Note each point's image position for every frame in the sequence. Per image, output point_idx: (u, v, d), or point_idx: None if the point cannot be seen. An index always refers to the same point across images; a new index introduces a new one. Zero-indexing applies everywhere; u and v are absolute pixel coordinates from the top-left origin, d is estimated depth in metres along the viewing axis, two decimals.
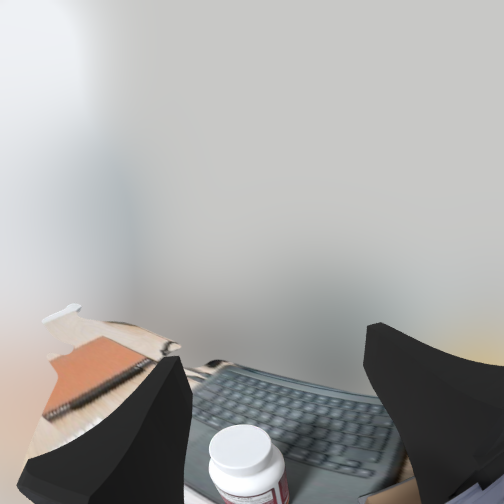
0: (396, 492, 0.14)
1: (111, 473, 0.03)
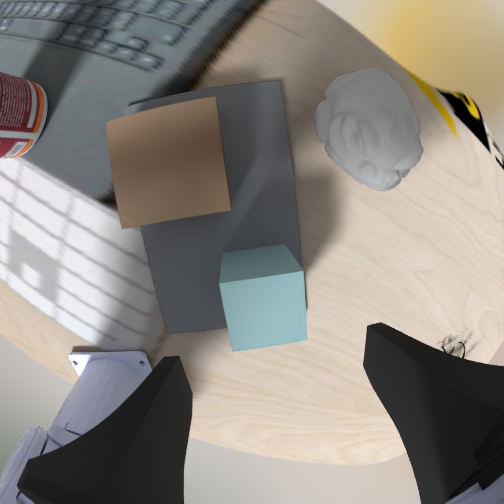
0: (150, 120, 0.12)
1: (111, 473, 0.03)
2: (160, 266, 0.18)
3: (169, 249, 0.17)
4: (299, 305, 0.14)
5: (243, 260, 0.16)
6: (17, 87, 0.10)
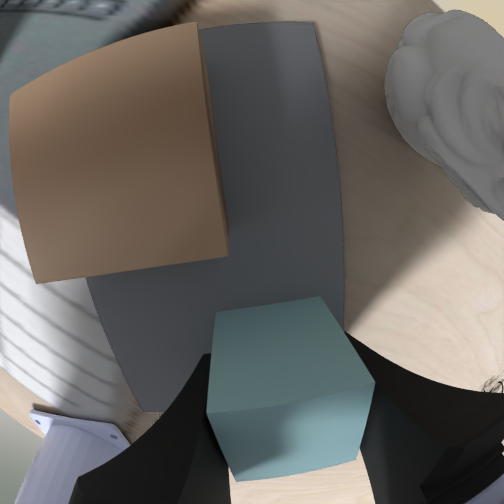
0: (72, 78, 0.05)
1: (186, 481, 0.03)
2: (119, 328, 0.10)
3: (128, 305, 0.10)
4: (355, 427, 0.06)
5: (253, 341, 0.08)
6: None
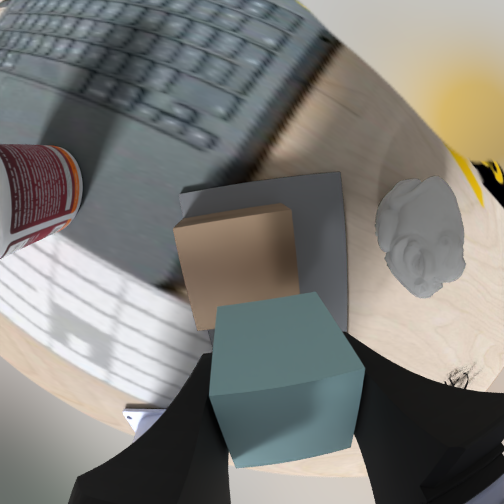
0: (224, 232, 0.14)
1: (185, 481, 0.03)
2: None
3: None
4: (348, 413, 0.07)
5: (252, 332, 0.09)
6: (48, 167, 0.12)
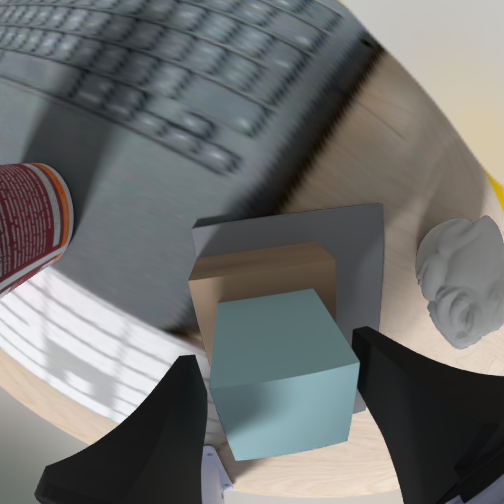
0: (253, 286, 0.11)
1: (138, 477, 0.03)
2: None
3: None
4: (344, 407, 0.07)
5: (251, 327, 0.09)
6: (27, 197, 0.09)
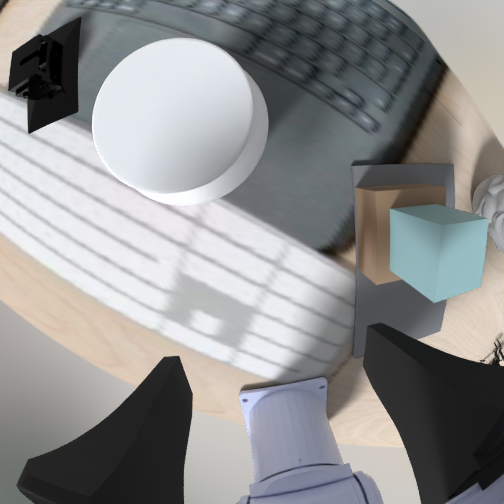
0: (409, 198, 0.15)
1: (111, 473, 0.03)
2: (366, 306, 0.21)
3: (375, 293, 0.20)
4: (482, 251, 0.11)
5: (427, 212, 0.13)
6: None
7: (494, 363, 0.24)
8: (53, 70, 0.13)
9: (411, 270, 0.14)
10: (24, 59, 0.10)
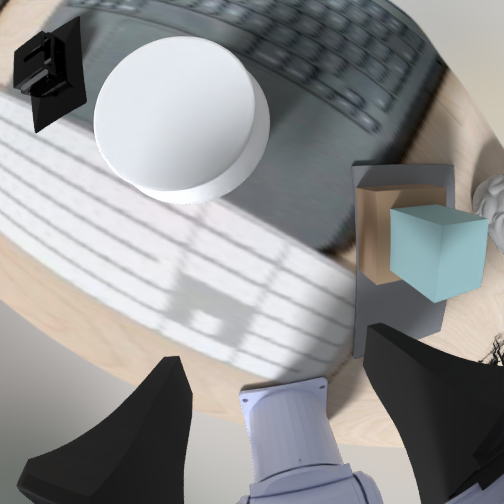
0: (409, 198, 0.15)
1: (111, 473, 0.03)
2: (366, 306, 0.21)
3: (376, 293, 0.20)
4: (483, 251, 0.11)
5: (427, 213, 0.13)
6: None
7: (492, 364, 0.24)
8: (57, 66, 0.13)
9: (411, 270, 0.14)
10: (28, 55, 0.10)
